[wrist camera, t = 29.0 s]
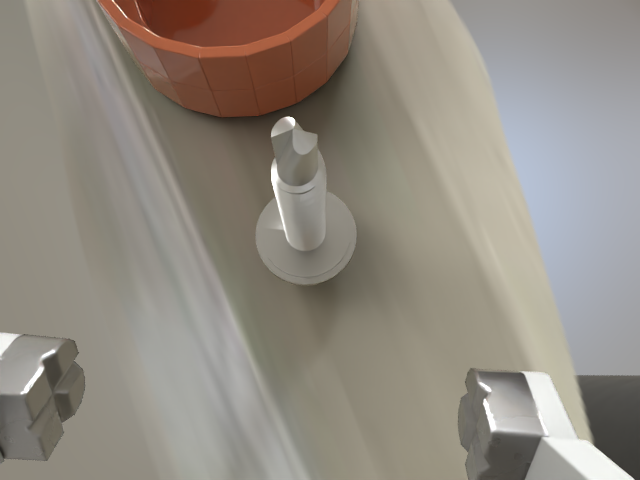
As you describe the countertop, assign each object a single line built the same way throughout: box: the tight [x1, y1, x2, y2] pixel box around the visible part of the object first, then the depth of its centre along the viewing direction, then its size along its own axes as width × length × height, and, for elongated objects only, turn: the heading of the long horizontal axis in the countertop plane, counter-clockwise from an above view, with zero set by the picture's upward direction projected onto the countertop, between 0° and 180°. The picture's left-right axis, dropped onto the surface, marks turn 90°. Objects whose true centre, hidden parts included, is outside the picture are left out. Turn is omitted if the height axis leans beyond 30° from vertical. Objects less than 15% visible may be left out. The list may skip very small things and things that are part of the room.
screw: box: [255, 117, 357, 285], centre depth 20 cm, size 13×5×5 cm
